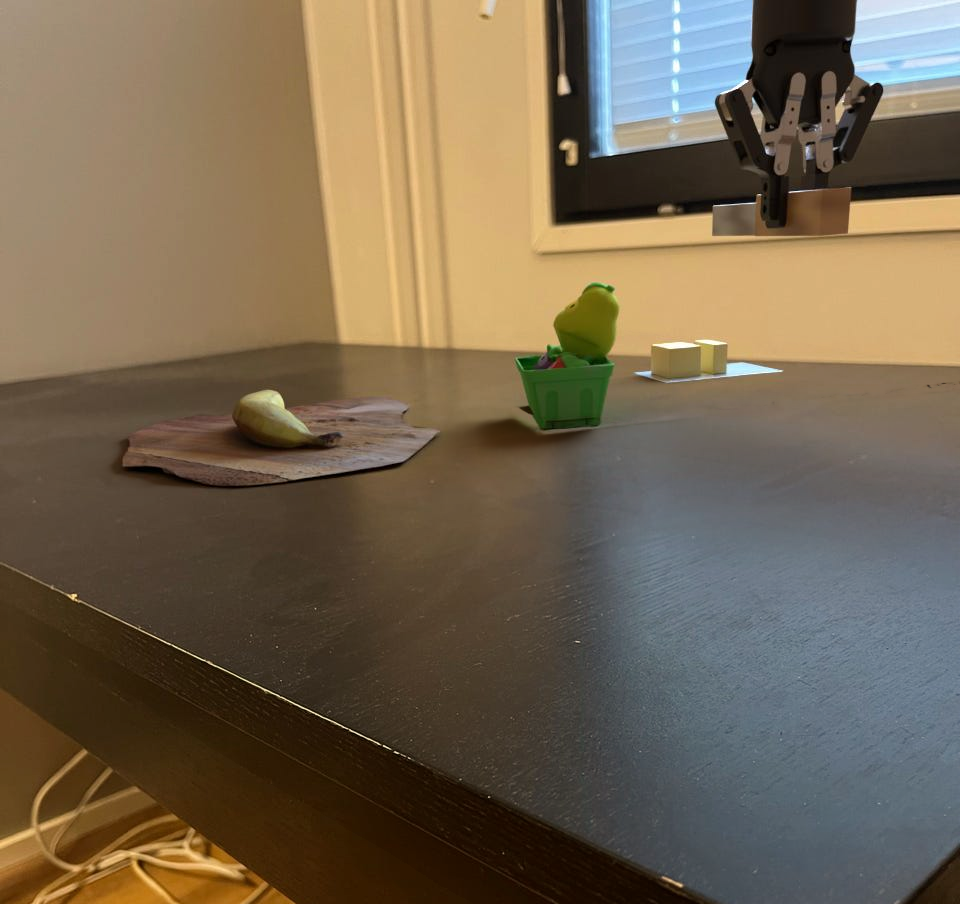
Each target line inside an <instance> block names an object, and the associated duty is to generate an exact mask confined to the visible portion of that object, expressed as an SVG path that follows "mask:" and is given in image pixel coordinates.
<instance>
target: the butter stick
mask: <svg viewBox="0 0 960 904" xmlns="http://www.w3.org/2000/svg"><path fill="white" fill-rule="evenodd" d="M650 371H651V374H655V375H658V376H662V377H665V378H669V379H672V378H683V377H693V376H701V346H699V345H694V343H690V342H689V343H688V342H683V341H678V342H667V343H656V344H651V345H650Z"/></svg>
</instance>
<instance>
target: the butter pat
mask: <svg viewBox="0 0 960 904" xmlns="http://www.w3.org/2000/svg"><path fill="white" fill-rule="evenodd" d="M693 344H694V345H699V346H701V371H702V372H706V373H710V374H724V373H727V364H728V346H729V344H728V343H726V342H721V341H716V340H712V339H711V340H710V339H700V340H699V339H698V340H694V341H693Z"/></svg>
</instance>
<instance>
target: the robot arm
mask: <svg viewBox="0 0 960 904" xmlns="http://www.w3.org/2000/svg"><path fill="white" fill-rule="evenodd" d="M857 8H858V0H751V31H750V48H751V53H752V58H751V62H750V65H749V68H748V69H747V73H746V75H745V80H744V81H743V82H741V83H740V84H738V85H737V86H735V87H734V88H732V89H730V90H726V91H723V92H721V93H719V94H717V95H716V97H715V99H714V106H715V108H716V112H717V113H718V117H719V119H720V121H721V124H722V126H723V129H724V132H725V133H726V136H727V139H728V141H729V144H730V147H731V149H732V152H733V154H734V156H735V158H736V161H737V164H738V167H739V168H740V169H741V170H744V171H750V172H753V173H754V174H755V173H756V174H757V175H758V176H759V177H760V180H761V181H760V182H761V183H760V184H761V185H760V195H761V208H760V215H761V218H762V221H765V224H766V227H767V228H783V227H785V225H786V220H787V198H788V192H789V190H790V189H789V187H790V176H789V175H786V176H785V174H786V173H787V172H788V169H789V164H790V158H791V151H792V144H793V143H794V142H795V140H796V137H797V135H798V142H799V143H800V145H801V147H802V168H803V172H804V173H805V175H801V176H800V185H799V187H800V188H799V191H808V190H820V189H829V176H830V173H831V172H832V170H833V169H834V168H836V167H838V166H840V165H842V164H845V163H849V162H851V161H852V160H853V159H854V157H855V154H856V152H857V150H858V149H859V146H860V144H861V142H862V140H863V138H864V136H865V133H866V131H867V129H868V127H869V124H870V122H871V120H872V118H873V116H874V114H875V112H876V109H877V108H878V105H879V103H880V101H881V99H882V97H883V94H884V86H883V84H882V83H881V82H873V83H870V82H868V81H866V80H864V78H861V77H860V76H858V75H856V67H855V66H856V65H855V62H854V61H853V57H852V53H851V49H852V44H853V41H854V38H855V34H856V26H857V25H856V22H857V10H858V9H857ZM843 97H844V98H843ZM842 98H843V101H842V107H843V108H844V110H843V112H842V115H841V117H840V119H839V121H838V122H837V120H836V119H837V118H836V117H837V116H836V108H837V106H838V105H839V103H840V101H841V100H842ZM753 100H754V102H753ZM754 103H755V104H756V106H757V108H758V109H759V111H760V113H761V115H762V121H761V128H760V132H759V129H758V127H757V125H756V123H755V120H754V117H753V114H752V111H753V109H754Z"/></svg>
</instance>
